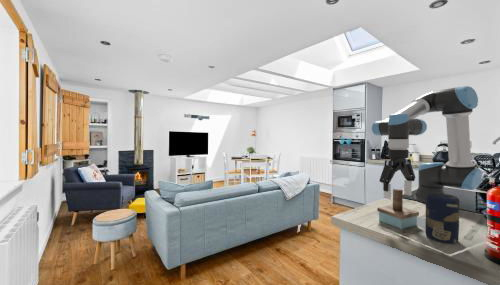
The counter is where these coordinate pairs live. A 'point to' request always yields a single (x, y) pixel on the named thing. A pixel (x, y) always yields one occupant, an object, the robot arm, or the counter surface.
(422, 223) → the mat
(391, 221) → the dish
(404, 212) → the lid
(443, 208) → the canister
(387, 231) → the counter surface
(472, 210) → the counter surface
